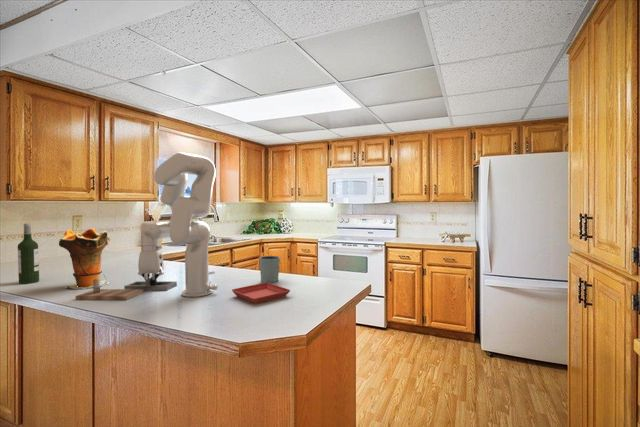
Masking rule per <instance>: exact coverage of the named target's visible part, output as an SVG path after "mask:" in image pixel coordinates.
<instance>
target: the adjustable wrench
mask: <svg viewBox="0 0 640 427" xmlns="http://www.w3.org/2000/svg"><path fill="white" fill-rule="evenodd" d="M208 271H209V270H208ZM215 273H216V270H214V269H212V270H210V271H209V275H212V274H215Z"/></svg>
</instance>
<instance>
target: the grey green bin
mask: <svg viewBox="0 0 640 427" xmlns="http://www.w3.org/2000/svg"><path fill="white" fill-rule="evenodd" d="M280 259H281V257H280V256H278V255H264V256H260V257H259V269H260V270H259V271H260V272H259V273H260V282H261V283H270V284H273V283H277V282H278V281H279V274H280V272H279V271H280V263H281V260H280Z"/></svg>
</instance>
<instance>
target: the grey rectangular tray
mask: <svg viewBox="0 0 640 427" xmlns="http://www.w3.org/2000/svg"><path fill="white" fill-rule="evenodd" d="M157 279H158V278H157ZM157 279H156V281H157V285H151V280H152V275H150V277H149V278H146V279H144V281H141V280H137V281H134V282H132V283H128V284H126V285H124V289H143V291H156V292H157V291H163V292H164V291H170V290H171V289H173V288H174V287H177V286H178V282H177V281H162V280H161V281H158V280H157Z"/></svg>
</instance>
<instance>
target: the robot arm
mask: <svg viewBox="0 0 640 427" xmlns="http://www.w3.org/2000/svg"><path fill="white" fill-rule="evenodd" d="M216 171H217V170H216V167H215V163H214V162H213V161H212V160H211V159H209V157H206V156H203V155H200V154H199V155H198V154H195V153H194V154H193V153H187V152H177V153H175V154H173V155H171V156H170V157H169V158H167V159H166V160H165V161H164V162H162V163H161V164H160V165H158V166H157V167H156V170H155V171H154V175H153V179H154V182H155V183H156V184H157V185H159V186H163V188H162V191H161V195H160V202H161V203H162V204H164V205H166V206H168V207H169V208H170V209H171V210H170V211H171V215H170V220H168V221H145V222H142V223H141V224H140V250H141V251H140V252H139V256H138V262H137V264H138V266H137V267H138V273H137V274H138V275H139V276H141V277H142V278H144V280H145V279H146V278H149V277H151V276H152V280H151V285H157V281H158V280H157V281H156V279H159V277H161V276H163V275H164V274H165V273H164V270H165V266H164V256H163V253H162V251H161V250H162V248H163V247H162V245H161V246H160V240H161V239H167V238H168V239H170V240H171V242H172V243H173V244H175V245H177V246H186V247H185V251H184V267H185V268H184V269H185V270H184V271H185V272H184V273H185V274H184V275H185V279H184V281H185V289H184V290H182V291H181V295H182V296H183V297H185V298H197V297H205V296H209V295H210V294H212V293H213V292H214V291H217V290H218V288H219V285H217V284H212V281H210V279H209V277H210V274H209V243H210V238H211V228H210V226H209V224H208V223H207V222H205V221H202V220H196V219H202V218H206V217H207V216H208V215H209V213H210V211H211V202H212V197H213V188H214V185H215V184H214V183H215V179H216ZM189 175H195V176H196V177H195V178H194V180H193V182H192V184H191V190H190V194H189V195H184V193H185V189H186V184H187V182H188V177H189ZM194 219H195V220H194Z"/></svg>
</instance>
